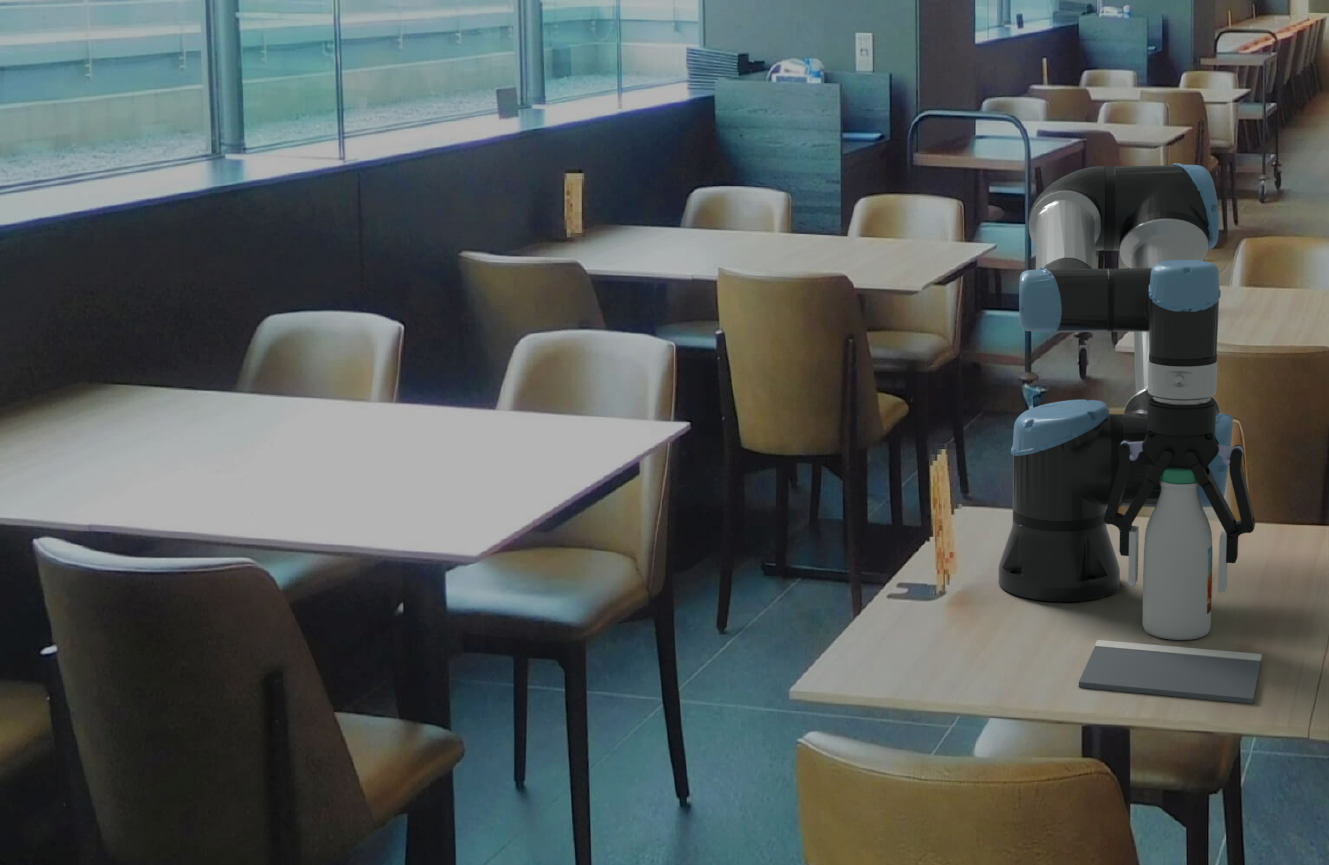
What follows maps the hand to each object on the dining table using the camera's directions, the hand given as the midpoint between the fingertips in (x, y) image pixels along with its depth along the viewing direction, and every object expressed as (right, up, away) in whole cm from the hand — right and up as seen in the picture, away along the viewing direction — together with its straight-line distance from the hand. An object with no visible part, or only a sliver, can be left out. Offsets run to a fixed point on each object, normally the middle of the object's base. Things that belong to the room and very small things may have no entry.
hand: (1177, 585), depth 208 cm
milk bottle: (0, -6, +1) cm, 6 cm away
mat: (-4, -9, -12) cm, 16 cm away
